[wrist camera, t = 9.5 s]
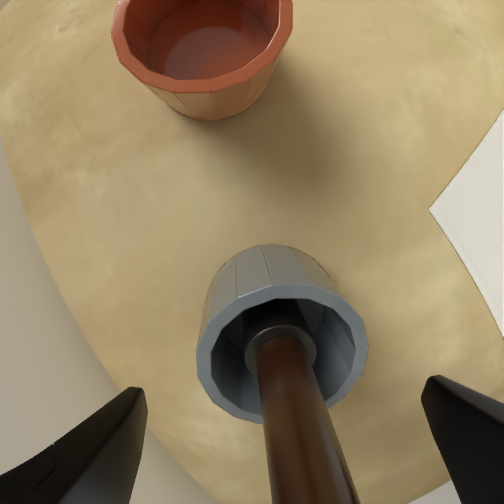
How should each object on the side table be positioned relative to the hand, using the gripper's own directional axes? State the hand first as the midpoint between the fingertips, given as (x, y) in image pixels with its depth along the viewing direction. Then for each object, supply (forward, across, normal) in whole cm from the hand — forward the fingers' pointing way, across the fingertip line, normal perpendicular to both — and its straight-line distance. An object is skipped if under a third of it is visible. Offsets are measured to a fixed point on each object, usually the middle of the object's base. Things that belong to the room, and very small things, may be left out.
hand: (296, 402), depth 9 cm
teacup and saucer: (+7, -22, -6) cm, 24 cm away
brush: (+6, 0, 0) cm, 7 cm away
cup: (+7, 0, 0) cm, 7 cm away
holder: (+7, +3, -11) cm, 13 cm away
